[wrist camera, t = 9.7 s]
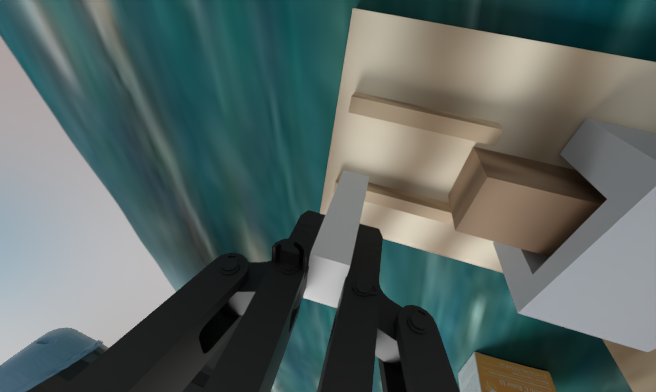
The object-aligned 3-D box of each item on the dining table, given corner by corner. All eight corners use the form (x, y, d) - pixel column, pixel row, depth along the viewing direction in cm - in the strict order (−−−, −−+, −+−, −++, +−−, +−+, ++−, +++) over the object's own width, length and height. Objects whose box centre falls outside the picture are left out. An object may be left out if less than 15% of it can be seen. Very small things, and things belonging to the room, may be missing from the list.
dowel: (448, 195, 19) (455, 230, 16) (473, 146, 17) (487, 177, 14) (594, 232, 18) (633, 279, 15) (643, 185, 16) (702, 229, 13)
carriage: (492, 243, 20) (517, 313, 16) (586, 118, 14) (672, 170, 10) (590, 269, 20) (648, 352, 15) (732, 148, 14) (906, 222, 9)
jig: (322, 212, 25) (279, 307, 17) (356, 8, 16) (296, 4, 7) (594, 288, 22) (699, 447, 14) (842, 95, 13) (1619, 243, 4)
